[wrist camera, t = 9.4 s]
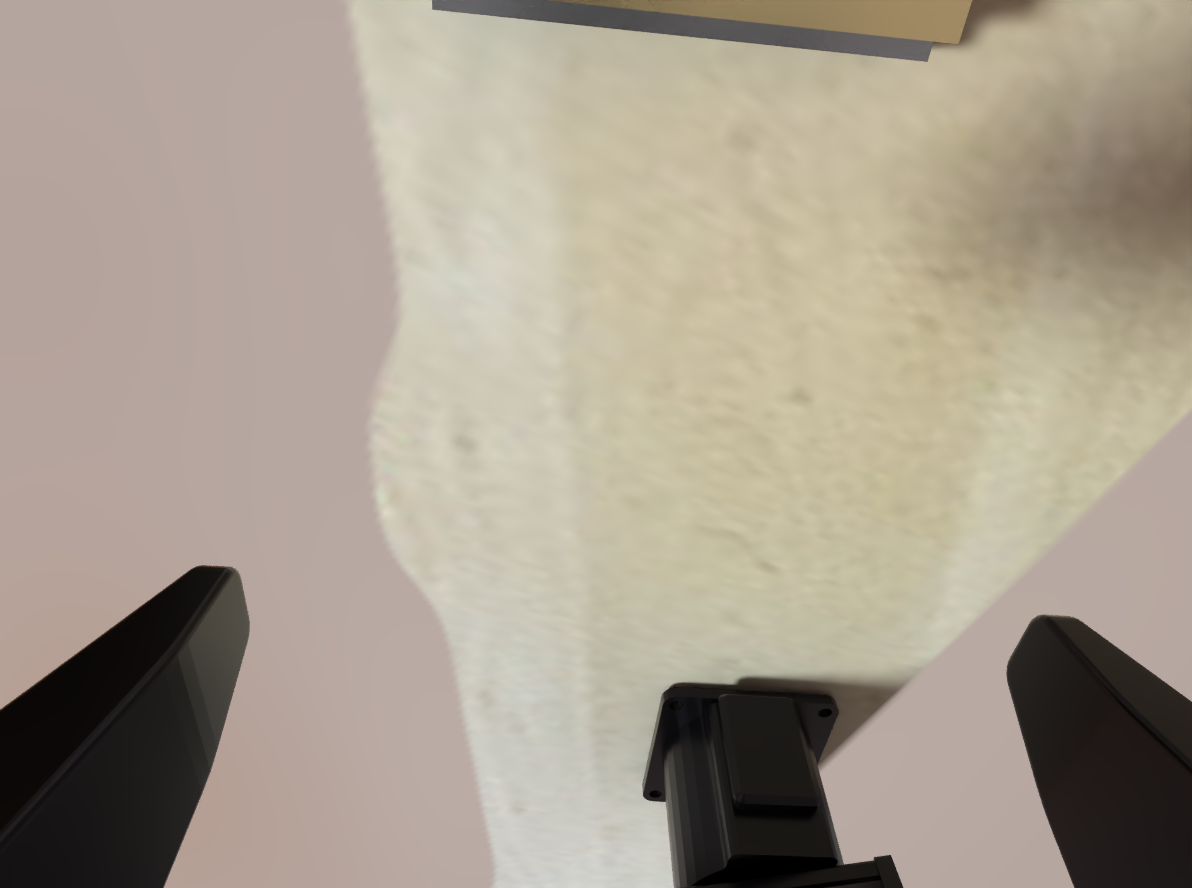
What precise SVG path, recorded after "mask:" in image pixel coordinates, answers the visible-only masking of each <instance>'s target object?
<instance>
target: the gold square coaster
mask: <svg viewBox="0 0 1192 888" xmlns="http://www.w3.org/2000/svg"><path fill="white" fill-rule="evenodd" d="M971 3H972V0H432V9H433V10H442V11H452V12H461V13H471V14H480V15H490V16H499V17H508V18H518V19H527V20H537V21H546V22H556V23H565V24H575V25H584V26H594V27H603V28H613V29H622V30H632V31H641V32H651V33H660V34H670V35H679V36H688V37H698V38H707V39H717V40H726V41H736V42H745V43H755V44H764V45H774V46H783V47H793V48H802V49H812V50H821V51H831V52H840V53H850V54H859V55H868V56H878V57H887V58H897V59H906V60H916V61H925V62H927V61H928V58H929V55H930V51H931V48H932V45H933V42H942V43H951V44H959V41H960V38H961V35H962V31H963V28H964V25H965V22H966V19H967V16H968V12H969V9H970V6H971Z"/></svg>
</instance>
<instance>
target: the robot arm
mask: <svg viewBox="0 0 1192 888" xmlns="http://www.w3.org/2000/svg"><path fill="white" fill-rule="evenodd" d="M249 627H250V622H249V615H248V610H247V605H246V601H245V596H244V591H243V586H242V581H241V577H240V574H239V572H238V571H237V570H236V569H235V568H232V567H224V566H206V565H201V566H197V567H195V568H193V569H191V570H189V571H188V572H187V573H185V574H184V575H183V576H181V577H180V578H178V579H177V580H176V581H174V582H173V583H172V584H170V585H169V586H168V587H166V588H165V589H163V590H162V591H161V592H159V593H158V594H157V595H155V596H154V597H153V598H152V599H150V600H149V601H147V602H146V603H145V604H143V605H142V606H140V607H139V608H138V609H136V610H135V611H134V612H132V613H131V614H130V615H128V616H127V617H125V618H124V619H123V620H121V621H120V622H119V623H117V624H116V625H115V626H113V627H112V628H110V629H109V630H108V631H106V632H105V633H104V634H102V635H101V636H100V637H98V638H97V639H95V640H94V641H93V642H91V643H90V644H89V645H87V646H86V647H85V648H84V649H82V650H81V651H79V652H78V653H77V654H75V655H74V656H72V657H71V658H70V659H68V660H67V661H66V662H64V663H63V664H61V665H60V666H59V667H58V668H56V669H55V670H53V671H52V672H51V673H49V674H48V675H47V676H45V677H44V678H43V679H41V680H40V681H38V682H37V683H36V684H34V685H33V686H32V687H30V688H29V689H27V690H26V691H25V692H23V693H22V694H21V695H19V696H18V697H17V698H16V699H14V700H13V701H11V702H10V703H9V704H7V705H6V706H4V707H3V708H2V709H0V888H164V886H165V883H166V881H167V878H168V876H169V873H170V871H171V868H172V866H173V864H174V861H175V859H176V856H177V854H178V851H179V849H180V847H181V844H182V842H183V839H184V837H185V834H186V832H187V829H188V827H189V825H190V822H191V820H192V817H193V815H194V812H195V810H196V807H197V805H198V803H199V800H200V798H201V795H202V793H203V790H204V787H205V785H206V782H207V779H208V777H209V774H210V772H211V768H212V765H213V762H214V758H215V755H216V752H217V749H218V745H219V741H220V738H221V734H222V731H223V727H224V724H225V720H226V717H227V713H228V710H229V706H230V702H231V699H232V695H233V692H234V688H235V685H236V681H237V678H238V674H239V671H240V667H241V663H242V660H243V656H244V653H245V649H246V646H247V641H248V637H249ZM1007 681H1008V686H1009V689H1010V693H1011V697H1012V700H1013V704H1014V707H1015V711H1016V714H1017V718H1018V721H1019V725H1020V728H1021V732H1022V736H1023V739H1024V743H1025V746H1026V750H1027V753H1028V757H1029V761H1030V764H1031V768H1032V771H1033V775H1034V778H1035V782H1036V785H1037V788H1038V792H1039V795H1040V798H1041V801H1042V804H1043V807H1044V810H1045V813H1046V816H1047V818H1048V821H1049V824H1050V827H1051V829H1052V832H1053V834H1054V837H1055V840H1056V842H1057V844H1058V847H1059V849H1060V852H1061V855H1062V857H1063V860H1064V862H1065V865H1066V867H1067V870H1068V872H1069V875H1070V878H1071V880H1072V883H1073V885H1074V888H1192V702H1191V701H1190V700H1188V699H1187V698H1186V697H1184V696H1183V695H1182V694H1180V693H1179V692H1178V691H1176V690H1175V689H1173V688H1172V687H1171V686H1169V685H1168V684H1167V683H1165V682H1164V681H1162V680H1161V679H1160V678H1158V677H1157V676H1156V675H1154V674H1153V673H1152V672H1150V671H1149V670H1147V669H1146V668H1145V667H1143V666H1142V665H1140V664H1139V663H1138V662H1136V661H1135V660H1134V659H1132V658H1131V657H1129V656H1128V655H1127V654H1125V653H1124V652H1123V651H1121V650H1120V649H1118V648H1117V647H1116V646H1114V645H1113V644H1112V643H1110V642H1109V641H1108V640H1106V639H1105V638H1103V637H1102V636H1101V635H1099V634H1098V633H1097V632H1095V631H1094V630H1092V629H1091V628H1090V627H1088V626H1087V625H1086V624H1084V623H1083V622H1081V621H1080V620H1078V619H1076V618H1074V617H1070V616H1058V615H1039V616H1037V617H1035V618H1034V619H1032V621H1031V622H1030V624H1029V625H1028V627H1027V629H1026V631H1025V632H1024V634H1023V636H1022V637H1021V639H1020V641H1019V643H1018V645H1017V646H1016V648H1015V650H1014V652H1013V653H1012V655H1011V657H1010V659H1009V661H1008V665H1007ZM838 712H839V710H838V706H837V703H836V701H835V699H834V698H833V697H831V696H827V695H812V694H793V693H773V692H754V691H734V690H714V689H695V688H671V689H668V690H666V691H665V692H664V693H663V694H662V697H661V702H660V706H659V711H658V715H657V720H656V725H655V729H654V734H653V738H652V743H651V747H650V752H649V757H648V761H647V766H646V770H645V775H644V780H643V784H642V785H643V796H644V798H645V799H647V800H649V801H659V802H666V807H667V818H668V829H669V839H670V850H671V861H672V871H673V882H674V888H903V886H902V883H901V881H900V878H899V875H898V873H897V870H896V867H895V865H894V862H893V860H892V857H891V855H887V856H880V857H874V861H867V862H860V863H853V864H845V865H844V863H843V859H842V855H841V852H840V848H839V844H838V841H837V837H836V833H835V830H834V826H833V822H832V818H831V814H830V811H829V807H828V803H827V799H826V796H825V792H824V788H823V785H822V781H821V777H820V773H819V770H818V766H817V764H818V762H819V759H820V757H821V754H822V752H823V750H824V747H825V745H826V742H827V740H828V737H829V735H830V733H831V730H832V728H833V725H834V723H835V721H836V718H837V716H838Z"/></svg>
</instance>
